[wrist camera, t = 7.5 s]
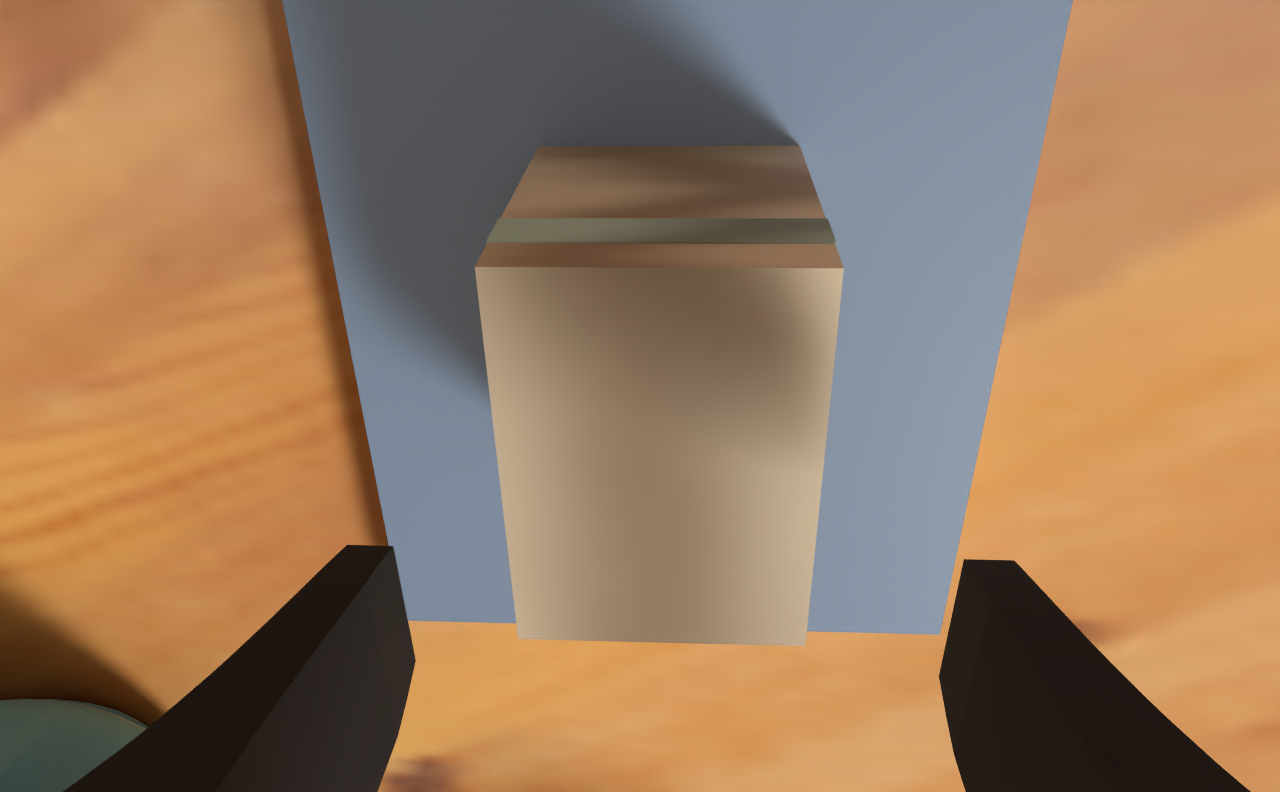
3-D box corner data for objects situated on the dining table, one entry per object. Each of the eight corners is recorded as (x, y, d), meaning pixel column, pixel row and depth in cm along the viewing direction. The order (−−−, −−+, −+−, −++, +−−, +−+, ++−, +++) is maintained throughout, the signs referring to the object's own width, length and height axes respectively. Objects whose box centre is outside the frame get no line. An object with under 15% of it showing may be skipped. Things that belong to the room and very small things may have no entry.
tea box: (801, 144, 17) (845, 266, 12) (778, 451, 21) (806, 646, 16) (537, 145, 18) (473, 265, 13) (560, 449, 21) (517, 639, 16)
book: (1069, -193, 16) (1113, -197, 15) (923, 581, 25) (939, 634, 24) (292, -179, 17) (246, -182, 15) (422, 569, 26) (403, 620, 24)
